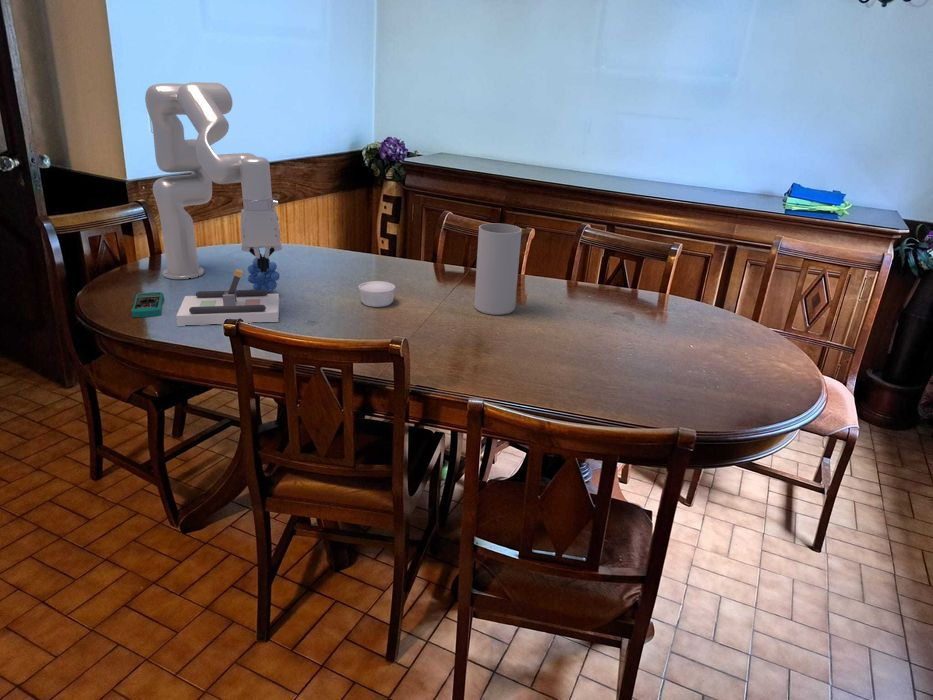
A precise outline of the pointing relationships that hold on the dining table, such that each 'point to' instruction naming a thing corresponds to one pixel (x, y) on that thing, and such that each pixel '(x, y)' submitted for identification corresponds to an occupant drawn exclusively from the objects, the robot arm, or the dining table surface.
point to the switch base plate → (218, 318)
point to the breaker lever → (235, 281)
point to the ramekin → (377, 293)
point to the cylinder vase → (497, 268)
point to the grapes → (263, 276)
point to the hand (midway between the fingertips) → (263, 271)
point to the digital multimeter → (148, 304)
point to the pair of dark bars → (229, 308)
